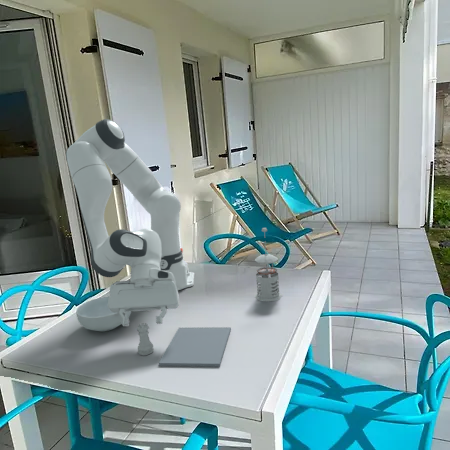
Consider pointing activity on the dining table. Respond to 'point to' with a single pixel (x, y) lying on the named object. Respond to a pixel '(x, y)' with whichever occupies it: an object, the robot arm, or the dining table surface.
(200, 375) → the dining table surface
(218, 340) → the mat
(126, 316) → the cereal bowl
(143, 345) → the rook chess piece
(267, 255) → the french press
